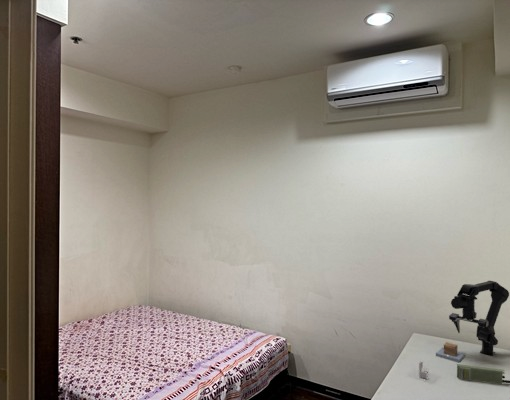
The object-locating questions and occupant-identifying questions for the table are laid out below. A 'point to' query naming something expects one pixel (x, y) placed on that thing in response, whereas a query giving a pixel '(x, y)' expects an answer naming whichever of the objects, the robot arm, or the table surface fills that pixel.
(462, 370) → the handheld radio
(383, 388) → the table surface
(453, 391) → the table surface
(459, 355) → the light switch plate
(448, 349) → the taped cardboard box
